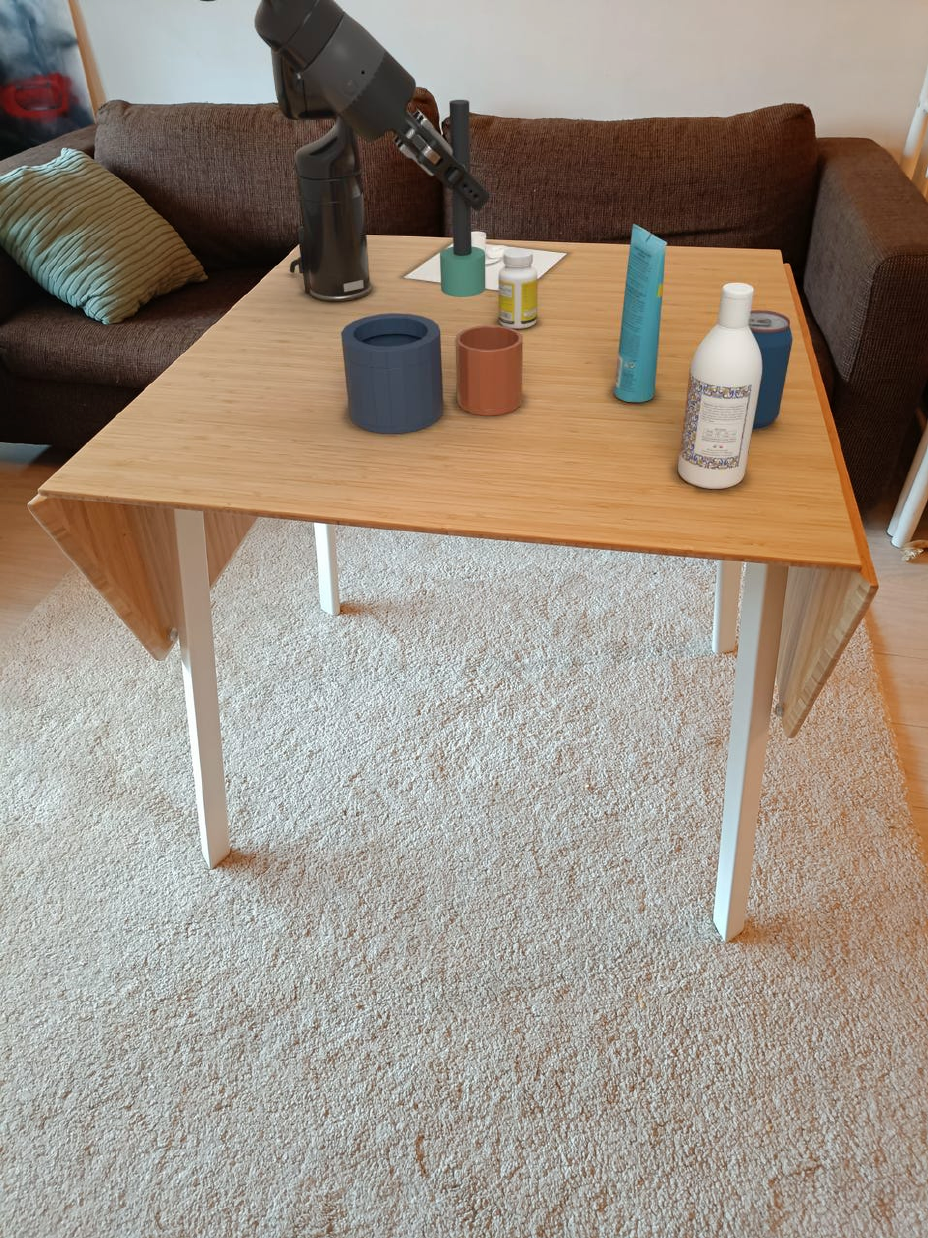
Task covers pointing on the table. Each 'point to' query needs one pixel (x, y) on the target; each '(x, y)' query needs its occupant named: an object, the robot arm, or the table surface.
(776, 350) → the soda can
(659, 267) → the tube
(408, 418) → the jar
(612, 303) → the table surface
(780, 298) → the table surface
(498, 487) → the table surface
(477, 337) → the crock
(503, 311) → the supplement bottle
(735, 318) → the bath foam
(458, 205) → the sponge wand
